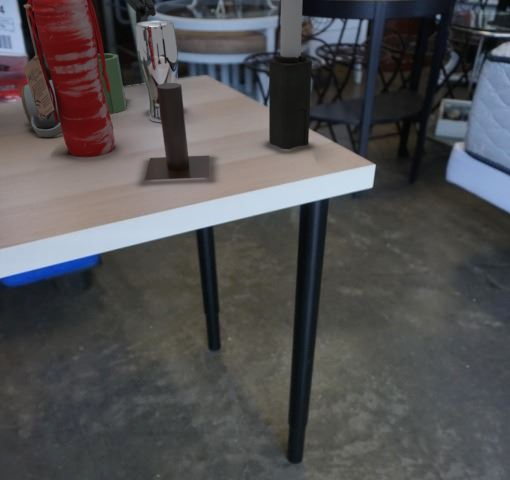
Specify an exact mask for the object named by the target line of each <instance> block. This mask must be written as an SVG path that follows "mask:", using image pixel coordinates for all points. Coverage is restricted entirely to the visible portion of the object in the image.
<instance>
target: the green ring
mask: <svg viewBox="0 0 510 480" xmlns="http://www.w3.org/2000/svg"><path fill="white" fill-rule="evenodd" d="M104 57H105V62H106V68H105V72H106V74H107V76H108V79H109V83H110V91H111V92H107V88H106V83H105V79H104V77H103V75H102V72H103V69H102V63H101V58H100V53H98V60H99V69H100V74H101V80H102V85H103V90H104V94H105V98H106V102H107V106H108V109H109V113H110V114H115V113H119V112H123V111H125V110H126V109H127V101H126V96H125V88H124V84H123V83H124V82H123V78H122V77H123V76H122V70H121V64H120V59H119V55H118V54H116V53H105V52H104Z"/></svg>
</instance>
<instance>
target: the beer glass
mask: <svg viewBox="0 0 510 480" xmlns="http://www.w3.org/2000/svg"><path fill="white" fill-rule="evenodd" d="M174 24H175V23H174V22H173V21H172V20H159V19H158V20H147V21H144V22H139V23H136V22H135V24H134V26H135V38H136V50H137V56H138V62H139V66H140V71H141V73H142V77H143V80H144V84H145V87H146V89H147V94H148V100H149V101H148V102H149V120H150V121H151V122H154V123H161V115H160V108H159V100H158V92H157V86H158V85H160V84H164V83H178V82H179V81H178V80H179V51H178V44H177V43H178V42H177V36H176V31H175V26H174ZM178 84H179V83H178Z"/></svg>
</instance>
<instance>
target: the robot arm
mask: <svg viewBox="0 0 510 480" xmlns="http://www.w3.org/2000/svg"><path fill="white" fill-rule="evenodd" d="M124 1H125V2H126V3H127V4H128V5H129V7H130V8H131V9H132V10H133V11H135V24H136V23H139V22H144V21H148V18H149V17H155V16H156V15H157V12H156V7H155V3H154V2H153V0H142V1H141V0H124Z"/></svg>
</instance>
